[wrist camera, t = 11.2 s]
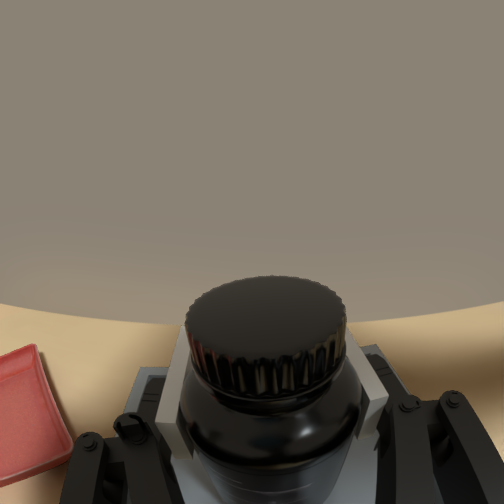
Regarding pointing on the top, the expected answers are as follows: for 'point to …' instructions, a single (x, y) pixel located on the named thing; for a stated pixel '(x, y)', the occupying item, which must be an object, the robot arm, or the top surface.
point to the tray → (344, 492)
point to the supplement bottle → (270, 389)
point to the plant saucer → (28, 419)
